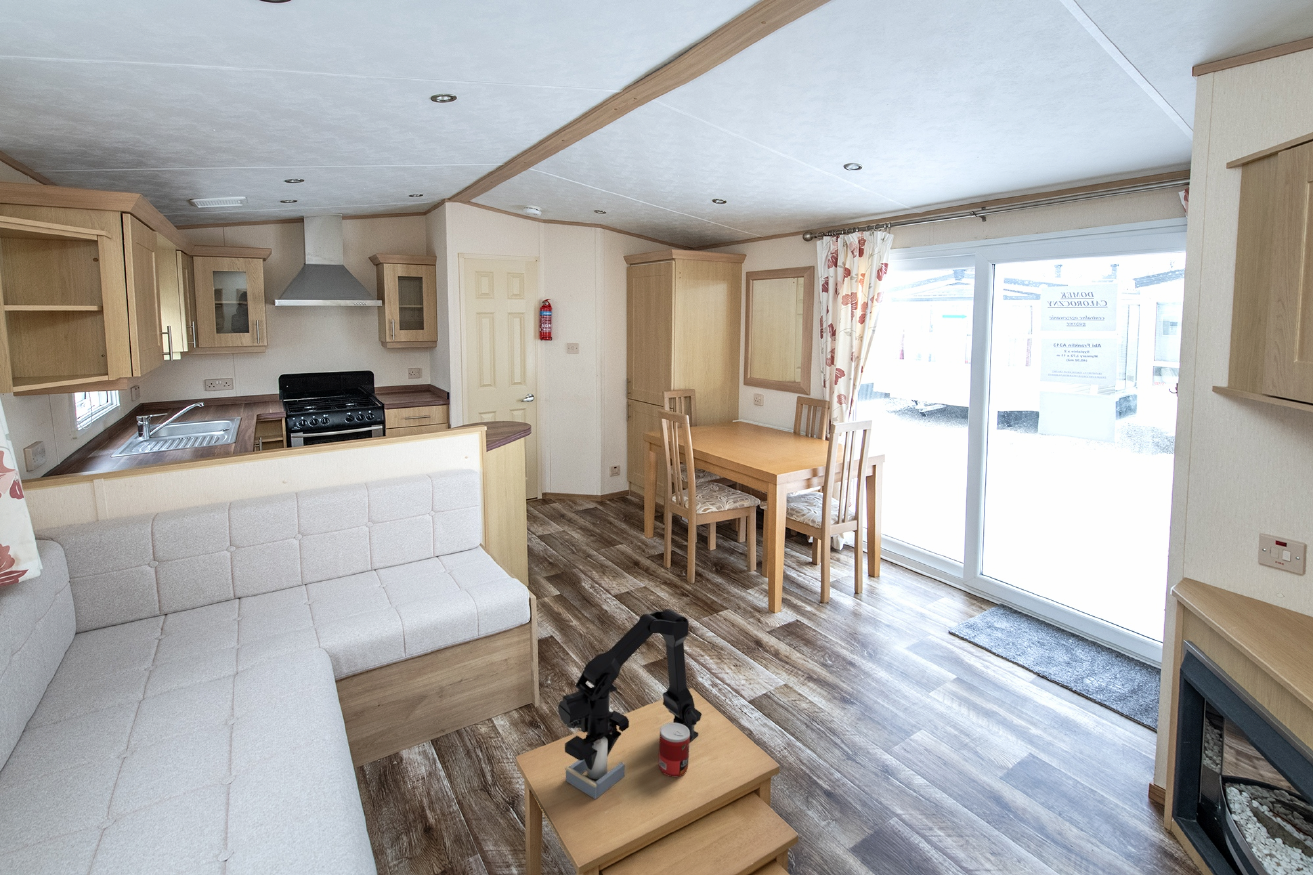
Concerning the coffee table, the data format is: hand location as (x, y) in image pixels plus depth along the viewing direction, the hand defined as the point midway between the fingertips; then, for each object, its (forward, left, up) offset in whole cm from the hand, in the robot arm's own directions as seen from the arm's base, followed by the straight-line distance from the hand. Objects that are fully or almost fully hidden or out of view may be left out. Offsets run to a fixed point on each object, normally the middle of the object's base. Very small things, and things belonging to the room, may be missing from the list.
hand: (597, 763), depth 176 cm
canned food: (-16, +13, -4) cm, 21 cm away
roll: (0, 0, -2) cm, 2 cm away
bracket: (0, 0, -4) cm, 4 cm away
